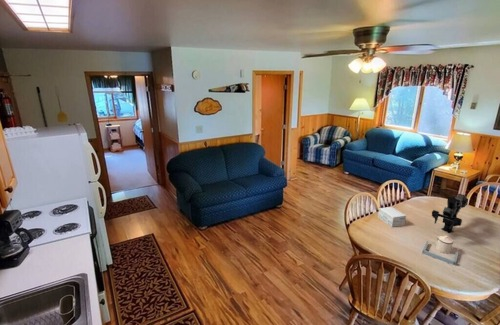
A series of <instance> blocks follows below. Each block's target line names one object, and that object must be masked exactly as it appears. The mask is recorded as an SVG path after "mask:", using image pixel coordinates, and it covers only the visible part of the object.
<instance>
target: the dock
mask: <svg viewBox="0 0 500 325" xmlns="http://www.w3.org/2000/svg"><path fill="white" fill-rule="evenodd" d="M428 245H429V241H427V240H426V242H425V244H424V246H423V249H422V253H421V254H423V255H426V256H428V257H431V258H434V259H436V260H439V261H442V262H444V263H447V264H450V265H453V266H456V264H457V261H458V260H457V259H458V255H459V251H458V250H455V254H454V257H453V259H450V258H448V257H445V256H442V255H439V254H436V253H433V252H431V251H428V250H427V248H428Z"/></svg>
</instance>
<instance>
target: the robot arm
mask: <svg viewBox="0 0 500 325" xmlns="http://www.w3.org/2000/svg"><path fill="white" fill-rule="evenodd" d="M468 204H469V198H467V195H465V194H463V193H462V194H461V193H458V194H457V195H456V196H454V195H452V196H451V197H448V198H447V203H446V205H447V206H445V207H444V208H443V210H442V213H440V211H439V210H435V209H433V210H432V211H431V217H432V218H433V219H434V224H437V221H438V218H439V217H440V218H442V222H441V223H443V224H444V225H443V227H442V228H441V230H442V231H445V232H446V233H448V234H451V233H454V232H455V230H453V229H454V228H455V227H458V226H459V227H461V226H462V223H463V219H462V218H460V217H457V216H458V214H459V212H460V211H461V210H462V209H463V208H465V207H466V206H468Z"/></svg>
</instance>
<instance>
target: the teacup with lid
mask: <svg viewBox="0 0 500 325" xmlns="http://www.w3.org/2000/svg"><path fill="white" fill-rule="evenodd" d="M453 245H454V240H453V239H452V238H451V237H449V236H448V235H439V236H437V237H436V246H435V248H436V251H438V252H440V253H443V254H450V253H451V251H452V246H453Z"/></svg>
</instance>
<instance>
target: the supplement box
mask: <svg viewBox="0 0 500 325" xmlns="http://www.w3.org/2000/svg"><path fill="white" fill-rule="evenodd" d="M406 217H407V215H406V214H404V213H403V212H401V211H399V210H398V209H396V208H394V207H393V206H387V207H380V208H379V209H378V215H377V218H378V219H379V218H380V219H379V220H381V221H382V222H384V223H385V224H387V225H388V226H389V227H391V228H393V227H401V226H405V224H406V223H405V222H406V219H407V218H406Z"/></svg>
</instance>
